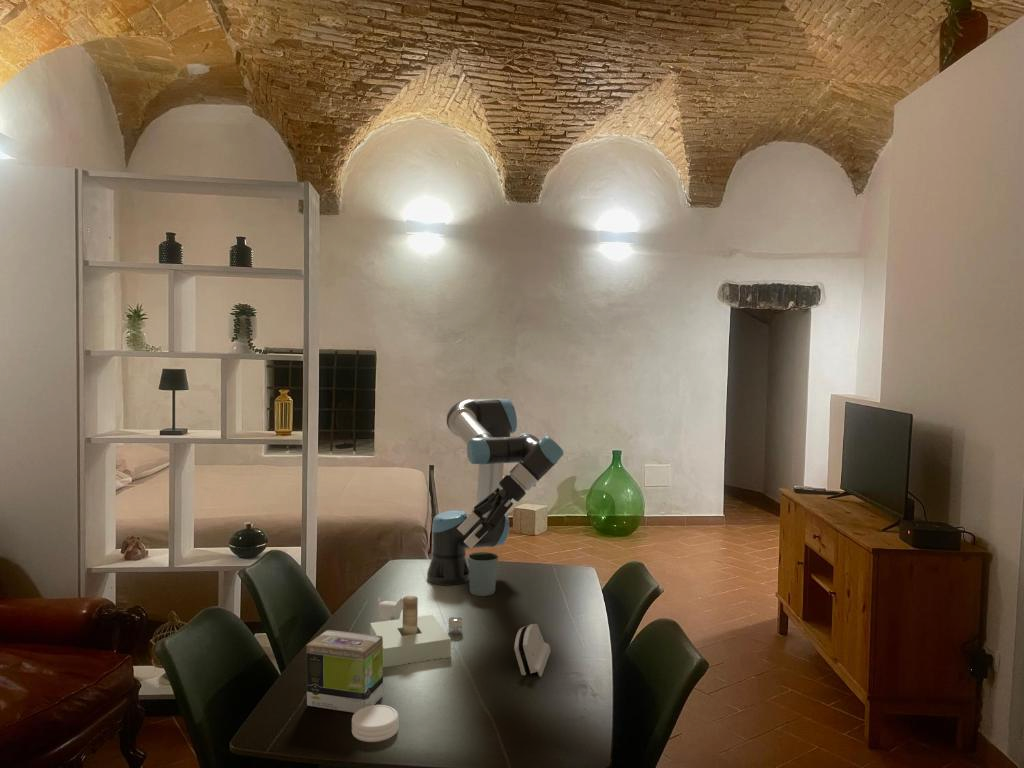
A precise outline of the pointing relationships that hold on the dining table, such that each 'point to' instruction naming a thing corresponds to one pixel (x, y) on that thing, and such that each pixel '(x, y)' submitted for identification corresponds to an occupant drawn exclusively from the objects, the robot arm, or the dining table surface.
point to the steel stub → (455, 626)
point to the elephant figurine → (389, 609)
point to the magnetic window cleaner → (531, 650)
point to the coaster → (375, 723)
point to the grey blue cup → (482, 573)
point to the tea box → (344, 670)
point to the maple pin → (410, 615)
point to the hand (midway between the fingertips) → (463, 538)
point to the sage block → (412, 641)
